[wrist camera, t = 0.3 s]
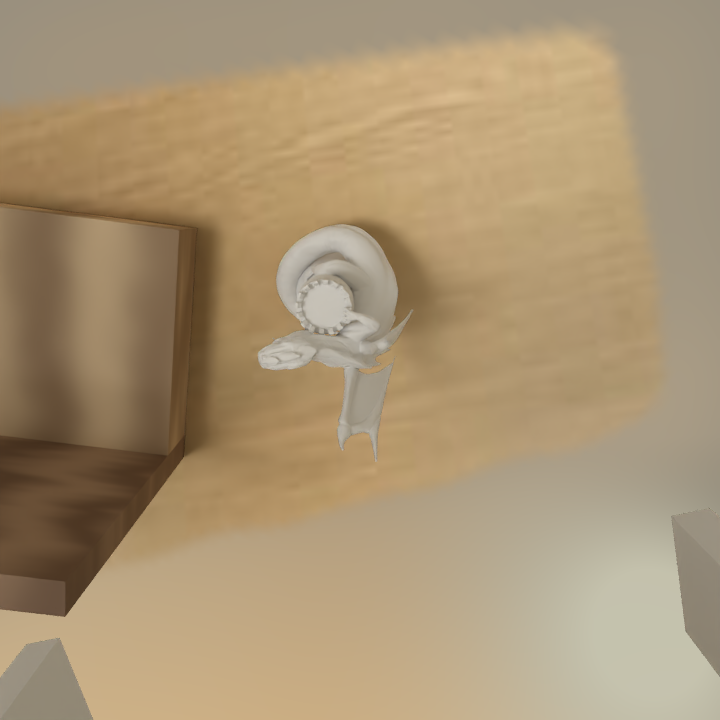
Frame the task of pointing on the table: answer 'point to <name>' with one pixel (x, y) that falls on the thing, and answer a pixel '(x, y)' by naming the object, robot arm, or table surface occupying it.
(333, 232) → the figurine
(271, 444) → the table surface
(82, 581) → the wall shelf
